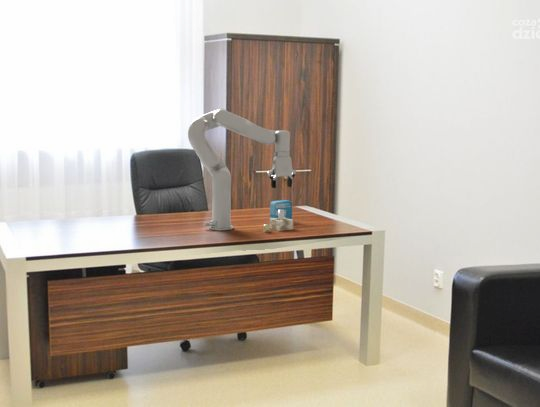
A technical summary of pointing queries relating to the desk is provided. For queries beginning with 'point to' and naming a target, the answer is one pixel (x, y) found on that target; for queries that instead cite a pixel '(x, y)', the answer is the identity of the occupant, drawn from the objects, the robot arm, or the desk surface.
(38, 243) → the desk surface
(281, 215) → the tall pin
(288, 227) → the pin block
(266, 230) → the short pin
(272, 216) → the data package
